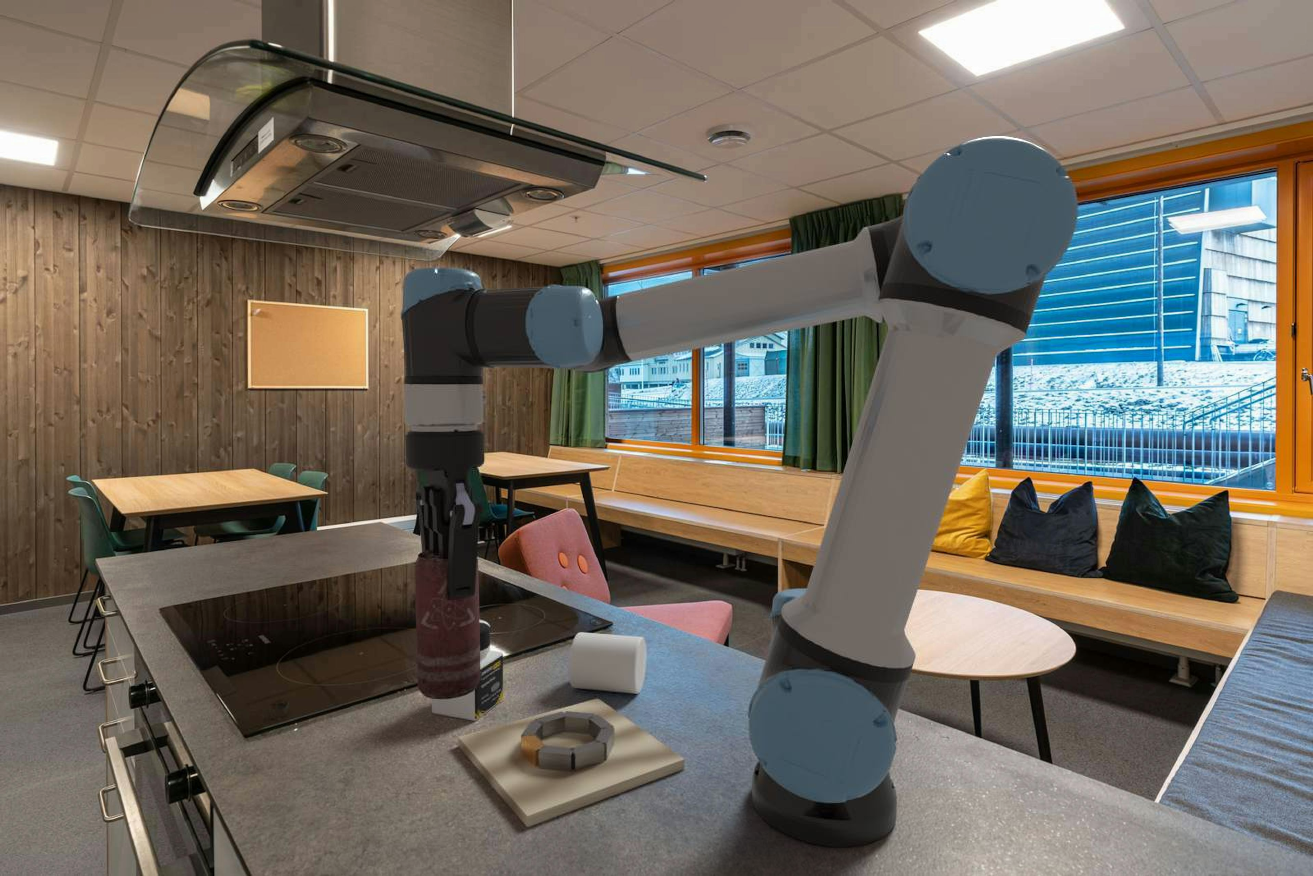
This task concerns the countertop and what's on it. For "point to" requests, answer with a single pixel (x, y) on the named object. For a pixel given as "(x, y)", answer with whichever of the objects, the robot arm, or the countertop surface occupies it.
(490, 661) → the medicine bottle
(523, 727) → the hub board
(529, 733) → the socket
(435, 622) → the can
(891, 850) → the countertop surface
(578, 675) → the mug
